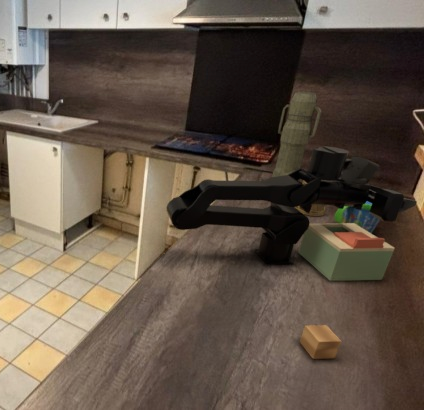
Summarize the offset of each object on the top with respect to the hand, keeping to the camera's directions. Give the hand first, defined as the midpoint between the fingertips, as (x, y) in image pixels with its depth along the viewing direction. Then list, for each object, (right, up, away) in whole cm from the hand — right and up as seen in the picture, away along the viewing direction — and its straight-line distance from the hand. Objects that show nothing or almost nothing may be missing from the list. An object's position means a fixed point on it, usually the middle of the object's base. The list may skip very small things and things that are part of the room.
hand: (398, 196), depth 83 cm
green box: (-11, -17, +4) cm, 20 cm away
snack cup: (+6, -9, +21) cm, 24 cm away
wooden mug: (+2, -3, +36) cm, 36 cm away
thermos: (+3, +4, +53) cm, 53 cm away
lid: (-11, -10, +1) cm, 15 cm away
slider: (-11, -10, -2) cm, 15 cm away
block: (-32, -27, -21) cm, 47 cm away
